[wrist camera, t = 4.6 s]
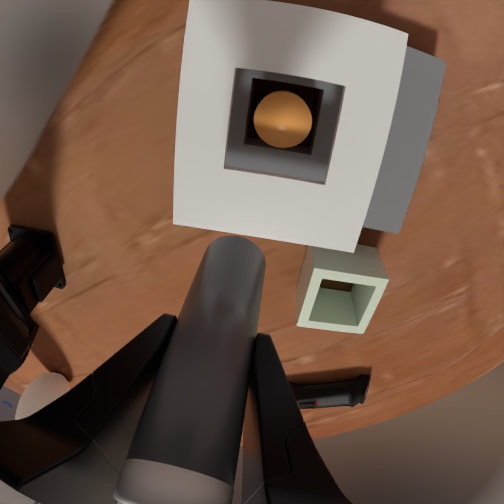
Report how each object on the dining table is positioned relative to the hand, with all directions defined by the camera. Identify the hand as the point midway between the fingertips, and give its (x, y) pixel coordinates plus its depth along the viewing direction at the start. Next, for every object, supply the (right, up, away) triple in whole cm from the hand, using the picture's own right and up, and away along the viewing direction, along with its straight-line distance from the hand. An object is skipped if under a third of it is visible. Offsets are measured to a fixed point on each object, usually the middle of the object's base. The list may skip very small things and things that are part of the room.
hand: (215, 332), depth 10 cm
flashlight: (0, +2, +3) cm, 4 cm away
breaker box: (+5, +11, +8) cm, 15 cm away
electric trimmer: (+7, -13, +24) cm, 28 cm away
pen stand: (+8, +1, +14) cm, 16 cm away
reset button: (+3, +11, +8) cm, 14 cm away
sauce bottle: (-29, -17, +30) cm, 45 cm away
